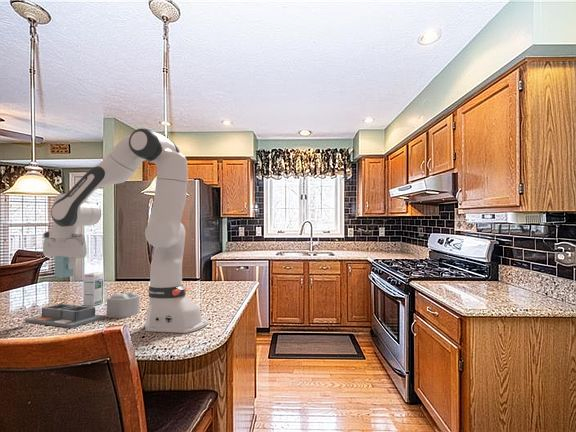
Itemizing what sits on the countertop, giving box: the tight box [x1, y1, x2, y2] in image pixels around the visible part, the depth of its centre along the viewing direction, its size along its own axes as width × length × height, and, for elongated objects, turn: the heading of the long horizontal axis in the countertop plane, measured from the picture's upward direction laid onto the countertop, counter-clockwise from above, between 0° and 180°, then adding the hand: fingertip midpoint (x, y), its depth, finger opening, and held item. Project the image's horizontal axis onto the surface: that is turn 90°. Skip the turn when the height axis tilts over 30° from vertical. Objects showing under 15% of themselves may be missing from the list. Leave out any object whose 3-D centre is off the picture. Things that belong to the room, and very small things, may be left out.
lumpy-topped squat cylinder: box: [106, 291, 141, 319], centre depth 142 cm, size 10×13×9 cm
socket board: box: [24, 303, 106, 329], centre depth 131 cm, size 24×14×4 cm, turn 70°
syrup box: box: [83, 271, 104, 307], centre depth 159 cm, size 6×6×14 cm
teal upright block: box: [54, 257, 75, 278], centre depth 136 cm, size 4×4×8 cm
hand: (64, 268), depth 136 cm, fingers closed on teal upright block, 4 cm apart
